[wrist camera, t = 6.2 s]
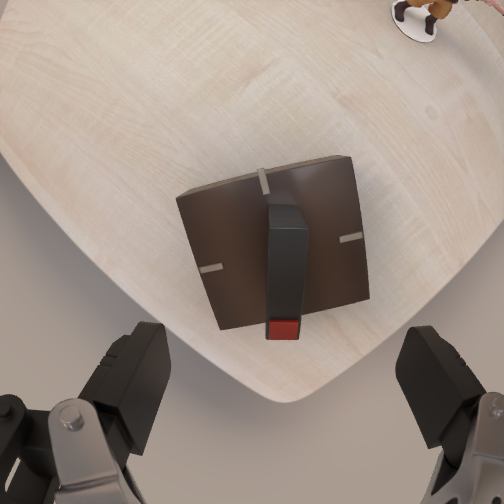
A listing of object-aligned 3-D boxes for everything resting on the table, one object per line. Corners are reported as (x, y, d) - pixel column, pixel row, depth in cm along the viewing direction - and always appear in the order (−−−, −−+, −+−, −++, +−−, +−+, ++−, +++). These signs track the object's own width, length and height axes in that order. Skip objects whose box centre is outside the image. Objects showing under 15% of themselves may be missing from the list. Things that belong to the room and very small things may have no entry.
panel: (226, 311, 22) (221, 336, 19) (186, 185, 19) (172, 192, 16) (358, 283, 20) (371, 305, 18) (337, 149, 17) (350, 150, 14)
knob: (267, 204, 16) (269, 228, 11) (297, 205, 16) (310, 229, 11) (265, 295, 18) (265, 343, 13) (292, 295, 18) (299, 343, 13)
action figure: (481, 41, 13) (555, 21, 4) (482, 68, 14) (562, 55, 5) (352, -19, 12) (396, -90, 4) (350, 8, 13) (400, -63, 5)
